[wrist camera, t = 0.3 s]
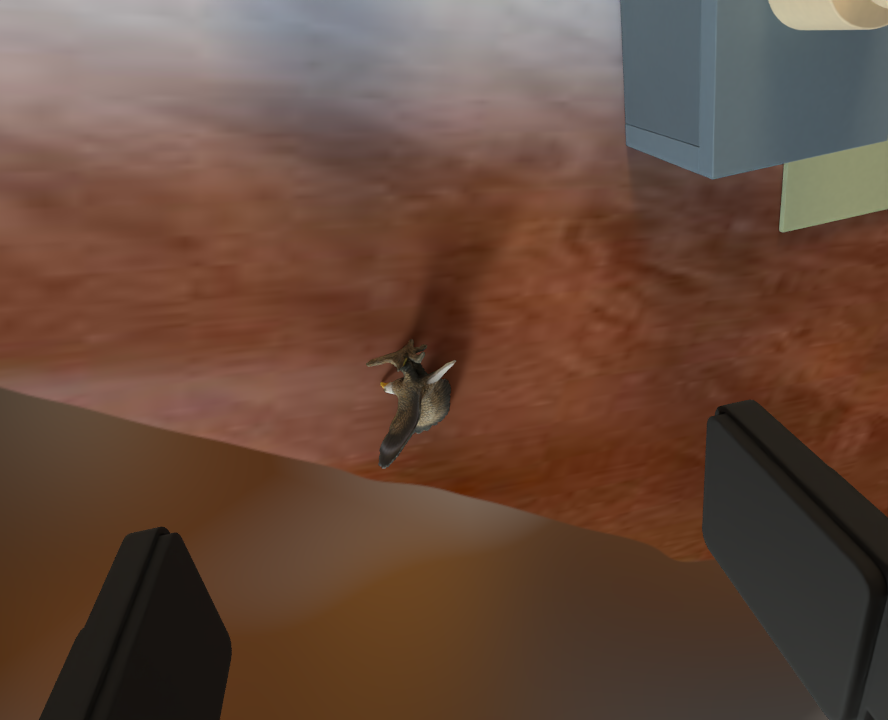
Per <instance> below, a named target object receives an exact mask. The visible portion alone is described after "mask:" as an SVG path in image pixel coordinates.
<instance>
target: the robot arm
mask: <svg viewBox="0 0 888 720" xmlns="http://www.w3.org/2000/svg"><path fill="white" fill-rule="evenodd" d="M702 531H703V537H704V540H705V543H706V545H707V547H708V549H709V550H710V552H711V553H712V555H713V556H714V558H715V559H716V560H717V562H718V563H719V565H720V566H721V568H722V569H723V570H724V572H725V573H726V575H727V576H728V578H729V579H730V580H731V582H732V583H733V585H734V586H735V587H736V589H737V590H738V592H739V593H740V595H741V596H742V597H743V599H744V600H745V602H746V603H747V604H748V606H749V607H750V609H751V610H752V612H753V613H754V615H755V616H756V617H757V619H758V620H759V622H760V623H761V624H762V626H763V627H764V629H765V630H766V632H767V633H768V634H769V636H770V637H771V639H772V640H773V641H774V643H775V644H776V646H777V647H778V649H779V650H780V652H781V653H782V654H783V656H784V657H785V659H786V660H787V662H788V663H789V664H790V666H791V667H792V669H793V670H794V671H795V673H796V674H797V676H798V677H799V679H800V680H801V681H802V683H803V684H804V685H805V687H806V689H807V690H808V691H809V693H810V694H811V696H812V697H813V699H814V700H815V701H816V703H817V704H818V705H819V707H820V708H821V710H822V711H823V712H824V714H825V715H826V717H827V718H828V719H829V720H888V518H887V517H886V516H885V515H884V514H883V513H882V512H881V511H880V510H878V509H877V508H876V507H875V506H874V505H873V504H872V503H871V502H870V501H868V500H867V499H866V498H865V497H864V496H863V495H862V494H861V493H859V492H858V491H857V490H856V489H855V488H854V487H853V486H852V485H850V484H849V483H848V482H847V481H846V480H845V479H844V478H843V477H842V476H840V475H839V474H838V473H837V472H836V471H835V470H833V469H832V468H831V467H829V466H828V465H827V464H825V463H824V462H823V461H822V460H821V459H820V458H819V457H818V456H816V455H815V454H814V453H813V452H812V451H811V450H810V449H809V448H808V447H806V446H805V445H804V444H803V443H802V442H801V441H800V440H799V439H798V438H796V437H795V436H794V435H793V434H792V433H791V432H790V431H789V430H787V429H786V428H785V427H784V426H783V425H782V424H781V423H780V422H779V421H777V420H776V419H775V418H774V417H773V416H772V415H771V414H770V413H768V412H767V411H766V410H765V409H764V408H763V407H762V406H761V405H760V404H758V403H757V402H755V401H754V400H746V401H741V402H737V403H732V404H727V405H723V406H720V407H718V408H717V410H716V412H715V416H711V417H709V419H708V422H707V437H706V459H705V481H704V502H703V524H702ZM231 649H232V648H231V641H230V637H229V635H228V632H227V631H226V628H225V626H224V624H223V622H222V620H221V618H220V616H219V614H218V612H217V610H216V608H215V606H214V603H213V601H212V599H211V597H210V595H209V593H208V591H207V589H206V587H205V585H204V583H203V581H202V579H201V577H200V575H199V573H198V570H197V568H196V566H195V564H194V562H193V560H192V558H191V556H190V554H189V552H188V550H187V548H186V546H185V544H184V542H183V540H182V538H181V536H180V535H179V534H178V533H171V534H170V532H169V531H168V530H167V529H166V528H165V527H158V528H153V529H148V530H144V531H139V532H134V533H130V534H128V535H127V536H126V537H125V538H124V540H123V542H122V544H121V546H120V548H119V551H118V553H117V555H116V557H115V560H114V562H113V564H112V566H111V569H110V571H109V573H108V575H107V578H106V580H105V582H104V584H103V586H102V589H101V591H100V593H99V596H98V598H97V600H96V602H95V604H94V607H93V609H92V611H91V613H90V616H89V618H88V620H87V622H86V625H85V627H84V628H83V629H82V630H81V631H80V633H79V634H78V636H77V637H76V639H75V641H74V644H73V646H72V648H71V650H70V652H69V655H68V657H67V659H66V661H65V664H64V666H63V668H62V670H61V672H60V674H59V677H58V679H57V681H56V683H55V685H54V688H53V690H52V692H51V694H50V697H49V699H48V701H47V703H46V705H45V708H44V710H43V712H42V714H41V717H40V719H39V720H220V715H221V709H222V704H223V698H224V694H225V688H226V683H227V678H228V672H229V667H230V661H231V655H232V652H231V651H232V650H231Z"/></svg>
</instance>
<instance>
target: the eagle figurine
mask: <svg viewBox="0 0 888 720" xmlns="http://www.w3.org/2000/svg"><path fill="white" fill-rule="evenodd" d="M413 343H414V340H413V339H410V340H409V342H408V344H407V345H406V346H404V347H403V348H402V349H401V350H399V351H397V352H395V353H391V354H387V355H384V356H381V357H378V358H375V359H372V360H370V361H369V362H368V363H366V365H367V366H368V367H369V366H376V365H380V364H384V363H387V362H388V363H392V364H394V366H395V367H397V371H398V372H399V371H402V372H403V374H404V377H403V378H400V379H397V380H395V381H393V382H389V383H383V382H381V386H382V387H383V388H384V391H385V392H387V393H391V394H396V395H397V397H398V410H397V413H396V416H395V417H394V419H393V421H392V423H391V425H390V429H389V432H388V434H387V435H386V436H385V438H384V440H383V442H382V444H381V447H380V456H379V466H381V468H386V467H389V465H390V464H391V463H392V462H393V461H394V460H395V459H396V457H398V456H399V454H400V452H401V451H402V450H403V448H404V446H405V445H406V444H407V442H408V440H409V439H410V438H411V436H412V434H414V433H415V432H416V433H418V434H419V433H421V432H422V431H424V430H425V431H428V430H429V429H430V428H431V426H432V425H437V423H438V422H441V421H442V420H443V419H444V418H445V416H446V415H447V414H448V412H449V407H450V397H451V396H450V393H451V387H450V384H449V381H448V380H446V379H444V380H443V379H440V378H441V377H442V376H443V375H444V374H445V373H446V372H447V370H448V369H449V368H450V367H451V366H452V365H454V363H455V362H456V360H453V361H451V362H449V363H446V364H445V365H444V366H443V367H441V368H440V369H438V370H437V371H435V372H432V373H430V374H428V373H427V372H426V371H425V370H424V368H423V367H422V365H421V364H420V363H421V361H422V359H423V358H424V356H425V352H422V353H421V354H420V355H416V353H417V352H420V351H424V350H425V349H426V348H427V345H425V344H423V345H421V346H420V347H415V348H414V347H413Z"/></svg>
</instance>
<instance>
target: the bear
mask: <svg viewBox="0 0 888 720" xmlns="http://www.w3.org/2000/svg"><path fill="white" fill-rule="evenodd" d="M768 1H769V4H770V7H771V9H772V11H773V13H774V14H775V16H776V17H777V18H778V19H779V20H780V21H781V22H782V23H783V24H785V25H786V26H788V27H790V28H793V29H797V30H870V29H877V28H880V27H884V26H886V25H888V0H768Z"/></svg>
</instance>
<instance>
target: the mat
mask: <svg viewBox="0 0 888 720" xmlns="http://www.w3.org/2000/svg"><path fill="white" fill-rule="evenodd" d="M885 209H888V140H887V141H884V142H879V143H875V144H870V145H866V146H861V147H857V148H852V149H848V150H843V151H839V152H834V153H830V154H825V155H821V156H816V157H812V158H807V159H803V160H798V161H793V162H789V163H784V172H783V185H782V199H781V212H780V225H779V231H780V232H787V231H792V230H796V229H801V228H805V227H809V226H814V225H818V224H823V223H827V222H832V221H836V220H841V219H845V218H850V217H854V216H858V215H863V214H867V213H872V212H876V211H881V210H885Z"/></svg>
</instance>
